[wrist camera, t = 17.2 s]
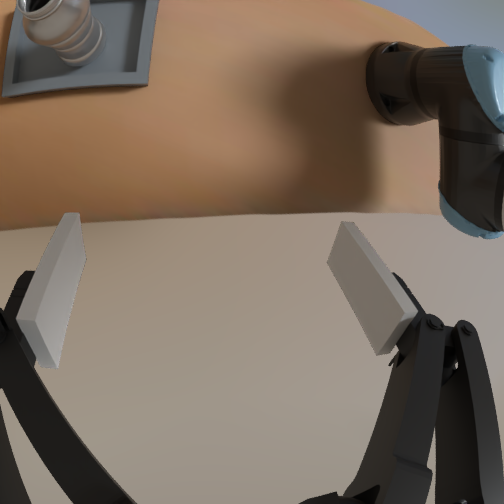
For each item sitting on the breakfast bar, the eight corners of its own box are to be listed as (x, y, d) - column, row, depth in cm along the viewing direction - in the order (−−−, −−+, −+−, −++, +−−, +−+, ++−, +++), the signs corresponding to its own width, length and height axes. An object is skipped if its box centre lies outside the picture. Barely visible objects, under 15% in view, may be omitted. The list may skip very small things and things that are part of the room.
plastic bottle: (55, 67, 30) (-12, 34, 12) (71, 20, 28) (21, -41, 10) (99, 71, 32) (58, 33, 15) (115, 24, 30) (92, -43, 13)
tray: (160, -7, 31) (161, -15, 28) (147, 86, 36) (147, 83, 33) (24, 6, 24) (17, 0, 22) (10, 97, 30) (1, 97, 27)
